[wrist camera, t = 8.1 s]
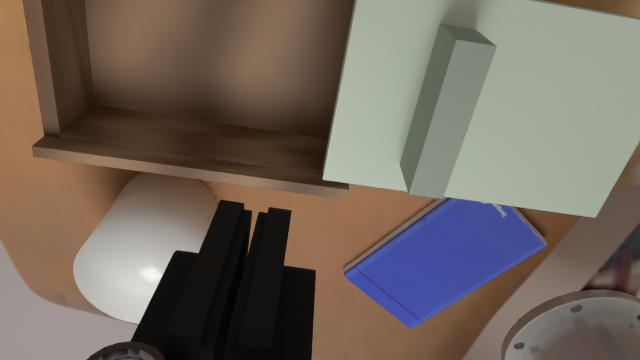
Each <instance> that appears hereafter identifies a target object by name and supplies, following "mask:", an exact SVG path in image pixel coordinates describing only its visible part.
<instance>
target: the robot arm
mask: <svg viewBox="0 0 640 360" xmlns="http://www.w3.org/2000/svg"><path fill="white" fill-rule="evenodd" d="M290 218H291V210H285V209H278V208H272V207H269V209H268V213H264V212H259V214H258V217H257V221H256V225H255V229H254V233H253V237H252V240H251V244H250V248H249V252H248V246H249V237H250V228H251V219H252V211H251V210H244V203H239V202H232V201H226V200H220V202H219V204H218V207H217V209H216V211H215V214H214V216H213V219H212V221H211V224H210V226H209V228H208V231H207V233H206V236H205V238H204V241H203V243H202V245H201V248H200V250H199V253H194V252H187V251H181V250H176V251H175V252H174V254H173V255H172V257H171V259H170V261H169V263H168V265H167V267H166V269H165V271H164V273H163V276H162V278H161V280H160V282H159V284H158V286H157V288H156V290H155V292H154V294H153V296H152V298H151V300H150V302H149V304H148V306H147V308H146V310H145V313H144V315H143V317H142V319H141V321H140V323H139V325H138V327H137V329H136V331H135V333H134V335H133V337H132V339H131V341H129V342H121V343H116V344H113V345H110V346H107V347H104V348H103V349H101V350H99V351H97V352H96V353H94V354H93V355H91V356H90V357H89V358H88V359H87V360H311V356H312V337H313V317H314V298H315V278H316V271H315V270H311V269H304V268H298V267H291V266H284V259H285V252H286V245H287V238H288V232H289V225H290ZM247 255H248V256H247ZM501 358H502V360H640V299H639V298H637V297H635V296H633V295H630V294H627V293H624V292H620V291H613V290H585V291H579V292H573V293H569V294H566V295H562V296H559V297H556V298H554V299H551V300H549V301H547V302H544V303H542V304H541V305H539V306H537V307H535V308H534V309H532V310H530V311H529V312H528V313H527V314H525V315H524V316H523V317H521V318H520V319H519V320H518V321H517V323H516V324H515V325H514V326H513V327H512V328H511V329H510V331H509V332H508V334H507V336H506V337H505V339H504V342H503V345H502V352H501Z"/></svg>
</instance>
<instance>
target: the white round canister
mask: <svg viewBox="0 0 640 360" xmlns="http://www.w3.org/2000/svg"><path fill="white" fill-rule="evenodd" d="M217 207H218V202H217V200H216V198H215V197H214V195H213V194H212V192H211V191H210V190H209V189H208V188H207V187H206V186H205V185H204V184H203V183H202V182H200V181H199V180H197V179H193V178H185V177H178V176H171V175H163V174H156V173H149V172H142V173H140V174H138V175H136V176H135V177H133V178H132V179H131V180H130V181H129V182H128V183H127V184H126V185H125V187H124V188H123V190H122V191H121V192H120V194H119V195H118V197H117V198H116V200H115V201H114V202H113V204H112V205H111V207H110V208H109V209H108V211H107V212H106V214H105V215H104V217H103V218H102V219H101V221H100V222H99V224H98V225H97V226H96V228H95V229H94V231H93V232H92V234H91V235H90V236H89V238H88V239H87V241H86V242H85V243H84V245H83V246H82V248H81V249H80V251H79V252H78V254H77V256H76V258H75V261H74V266H73V273H74V278H75V281H76V284H77V286H78V288H79V290H80V291H81V293H82V294H83V295H84V296H85V298H86V299H87V300H88V301H89V302H90V303H92V304H93V305H94V306H95V307H97V308H98V309H100V310H101V311H103V312H104V313H106V314H108V315H110V316H112V317H115V318H117V319H120V320H123V321H127V322H131V323H138V324H139V323H140V321H141V319H142V317H143V315H144V313H145V310H146V308H147V306H148V304H149V302H150V300H151V298H152V296H153V294H154V292H155V290H156V288H157V286H158V284H159V282H160V280H161V278H162V276H163V273H164V271H165V269H166V267H167V265H168V263H169V261H170V259H171V257H172V255H173V254H174V252H175V251H176V250H181V251H187V252H194V253H199V250H200V248H201V245H202V243H203V241H204V238H205V236H206V233H207V231H208V228H209V226H210V224H211V221H212V219H213V216H214V214H215V211H216V209H217Z"/></svg>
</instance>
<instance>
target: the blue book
mask: <svg viewBox="0 0 640 360" xmlns="http://www.w3.org/2000/svg"><path fill="white" fill-rule="evenodd" d="M546 246H548V244H547V242H546V241H545V239H544V238H543V237H542V235H541V234H540V233H539V232H538V231H537V230H536V229H535V228H534V227H533V226H532V225H531V224H530V223H529V222H528V220H527V219H526V218H525V217H524V216H523V215H522V214H521V213H520V212H519V211H518V210H517V209H516V208H515V206H507V205H500V204H493V203H486V202H479V201H472V200H464V199H457V198H450V197H443V199H437V200H436V201H434V202H433V203H431V204H430V205H429V206H427V207H426V208H425V209H423V210H422V211H421V212H419V213H418V214H416V215H415V216H414V217H412V218H411V219H410V220H408V221H407V222H406V223H404V224H403V225H401V226H400V227H399V228H397V229H396V230H395V231H393V232H392V233H391V234H389V235H388V236H387V237H385V238H384V239H382V240H381V241H380V242H378V243H377V244H376V245H374V246H373V247H372V248H370V249H369V250H367V251H366V252H365V253H363V254H362V255H361V256H359V257H358V258H357V259H355V260H354V261H352V262H351V263H350V264H348V265H347V266H346V267H344V275H345V276H346V278H347V279H348V280H350V281H351V282H352V283H353V284H354V285H356V286H357V287H358V288H360V289H361V290H362V291H363V292H365V293H366V294H367V295H368V296H370V297H371V298H372V299H374V300H375V301H376V302H377V303H379V304H380V305H381V306H383V307H384V308H385V309H386V310H388V311H389V312H390V313H391V314H393V315H394V316H395V317H397V318H398V319H399V320H400V321H402V322H403V323H404V324H406V325H407V326H408V327H409V328H414V327H416V326H417V325H419V324H421V323H422V322H423V321H425V320H427V319H428V318H430V317H431V316H433V315H435V314H436V313H438V312H440V311H441V310H443V309H445V308H446V307H448V306H450V305H451V304H453V303H454V302H456V301H458V300H459V299H461V298H463V297H464V296H466V295H468V294H469V293H471V292H473V291H474V290H476V289H478V288H479V287H481V286H483V285H484V284H486V283H487V282H489V281H491V280H492V279H494V278H496V277H497V276H499V275H500V274H502V273H504V272H505V271H507V270H509V269H510V268H512V267H514V266H515V265H517V264H518V263H520V262H522V261H523V260H525V259H527V258H528V257H530V256H532V255H533V254H535V253H536V252H538V251H540V250H541V249H543V248H544V247H546Z"/></svg>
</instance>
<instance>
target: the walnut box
mask: <svg viewBox="0 0 640 360" xmlns="http://www.w3.org/2000/svg"><path fill="white" fill-rule="evenodd" d="M23 6H24V13H25V19H26V25H27V31H28V37H29V43H30V49H31V56H32V62H33V68H34V74H35V80H36V86H37V93H38V99H39V105H40V111H41V117H42V123H43V130H44V137H43V138H41V139H40V140H39V141H38V142H36V143H35V144H34V145H33V146H32V149H33V155H34V157H39V158H46V159H54V160H61V161H68V162H75V163H83V164H90V165H97V166H105V167H112V168H119V169H127V170H134V171H141V172H149V173H156V174H163V175H171V176H178V177H185V178H193V179H200V180H207V181H215V182H222V183H229V184H237V185H244V186H251V187H259V188H266V189H273V190H281V191H288V192H295V193H303V194H310V195H317V196H325V197H332V198H339V199H347V198H348V193H349V183H343V182H335V181H328V180H323V165H324V160H325V154H326V149H327V144H328V138H329V133H330V128H331V123H332V117H333V112H334V107H335V101H336V96H337V91H338V85H339V80H340V75H341V69H342V64H343V59H344V54H345V48H346V43H347V38H348V32H349V27H350V22H351V16H352V11H353V6H354V0H23Z"/></svg>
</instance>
